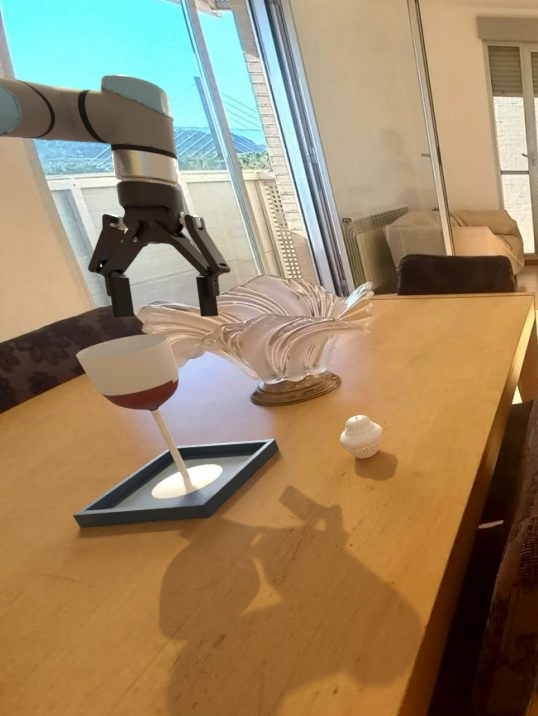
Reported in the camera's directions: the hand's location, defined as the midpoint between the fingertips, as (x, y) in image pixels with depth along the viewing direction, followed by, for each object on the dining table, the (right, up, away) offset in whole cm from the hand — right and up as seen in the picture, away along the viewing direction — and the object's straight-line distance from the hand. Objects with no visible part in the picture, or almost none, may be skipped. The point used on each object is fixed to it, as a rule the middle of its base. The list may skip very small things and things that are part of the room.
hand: (167, 316), depth 79 cm
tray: (+11, -26, -7) cm, 29 cm away
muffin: (+34, -23, -1) cm, 41 cm away
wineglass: (+10, -26, -7) cm, 29 cm away
